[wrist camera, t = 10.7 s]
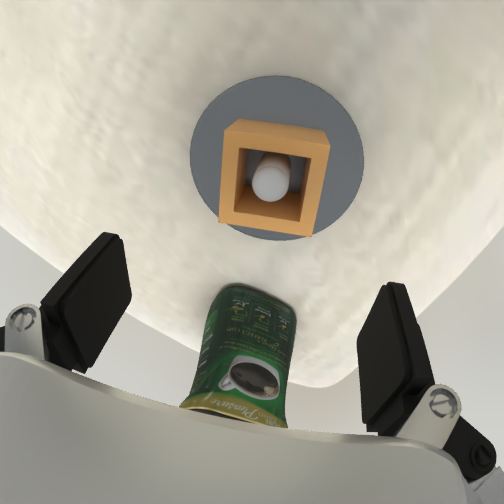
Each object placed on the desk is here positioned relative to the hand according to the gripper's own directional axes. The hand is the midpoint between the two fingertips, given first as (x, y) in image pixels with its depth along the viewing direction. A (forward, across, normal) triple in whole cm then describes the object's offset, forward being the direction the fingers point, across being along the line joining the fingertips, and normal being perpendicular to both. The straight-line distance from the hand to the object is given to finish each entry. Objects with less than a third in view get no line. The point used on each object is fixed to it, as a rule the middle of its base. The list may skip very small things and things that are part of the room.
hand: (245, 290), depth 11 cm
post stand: (+17, 0, 0) cm, 17 cm away
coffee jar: (+17, 0, +18) cm, 25 cm away
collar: (+16, 0, 0) cm, 16 cm away
